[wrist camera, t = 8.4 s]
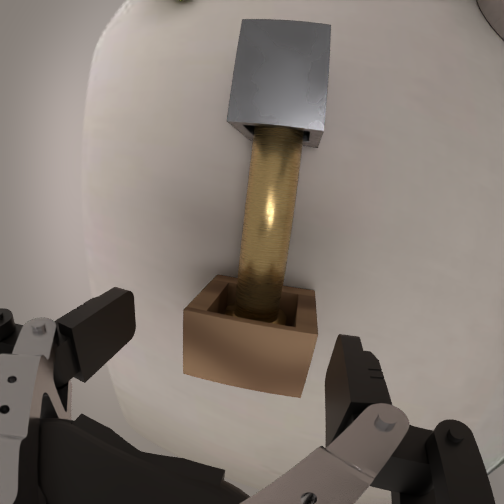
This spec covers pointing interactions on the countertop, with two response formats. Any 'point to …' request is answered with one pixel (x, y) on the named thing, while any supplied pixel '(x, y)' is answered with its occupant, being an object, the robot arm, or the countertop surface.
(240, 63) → the sleeve
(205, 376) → the socket
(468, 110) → the countertop surface
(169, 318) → the countertop surface
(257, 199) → the tube
